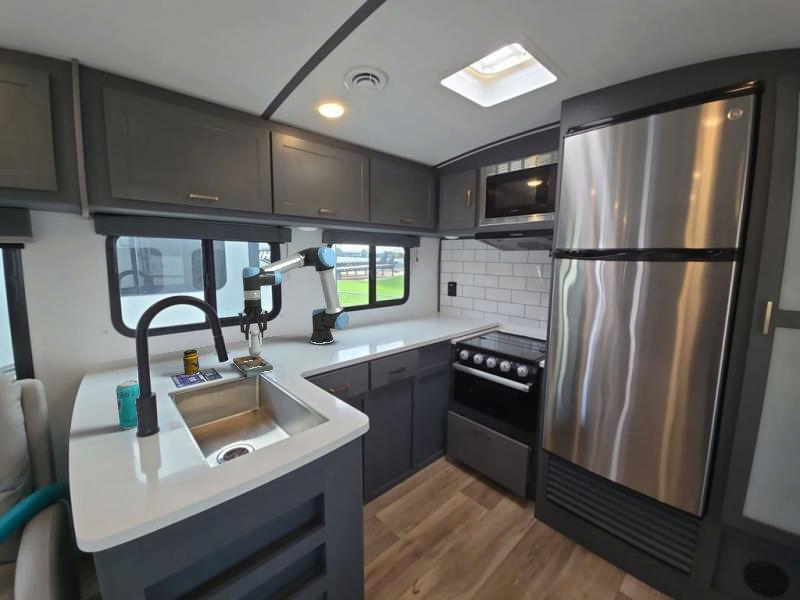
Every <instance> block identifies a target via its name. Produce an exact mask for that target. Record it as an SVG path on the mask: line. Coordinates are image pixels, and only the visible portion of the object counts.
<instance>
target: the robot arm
mask: <svg viewBox="0 0 800 600" xmlns="http://www.w3.org/2000/svg"><path fill="white" fill-rule="evenodd" d="M337 258H338V257H337V254H336V252H335V250H333V249H332V248H331V247H325V246H319V247H318V246H317V247H308V248H305V249H302V250H298V251H297V252H294V253H293V254H292V256H288V257H286V258H282V259H279V260H277V261H274V262H272V263H269V264H266V265H263V266H260V267H258V266H257V267H255V266H251V267H248V266H246V267H243V268H242V275H241V277H242V289H243V299H244V300H243V307H244V308H243V311H241V312H237V315H238V317H239V329H240V333H242V334H244V337H245V338H244V339H245V340H246V341H247V346H248V347H251V335H250V333H249V332H250V330H251V329H250V327H251V323H252V319H254V318H255V320H256V324H257V327H258V330H259V334H258V338H259V342H260V346H262V345H263V342H262V339H264V332H265V331H267V330H268V313H269V311H268V310H266V309H263V308H262V300H261V297H262V296H261V287H267V286H268V287H269V286H279V285H280V284H282V280H283V279H282V278H283V277H282V275H283V274H285V273H287V272H290V271H292V270H294V269H297V268H299V269H302V268H305V267H314V269H315V272H317V273H318V275H319V278H320V279H319V280H320V284H321V288H322V292H323V297H324V300H325V305H326V307H324V308H322V307H321V308H316V309H313V310H312V313H311V314H312V315H311V316H312V317H311V318H312V322H311V323H312V333H311V337H310V342H311V341H312V342H316V343H323V342H330V341H332V340H333V341H334V337H333V334H332V331H331V330H336V331H339V330H340V331H341V330H345V329H346V328H347V327H348V325H349V322H350V315H349V314H348V313H347V312H346V311H345V310H344V306H341V302H340V298H339V294H338V289H337V288H338V287H337V284H336V279H335V274H334V269H335V265H336V263H337V260H338V259H337ZM261 314H262V321H261V317H260V315H261ZM245 316H247V317H246V323H245V320H244V319H245V318H244V317H245Z"/></svg>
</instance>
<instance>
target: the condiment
mask: <svg viewBox="0 0 800 600" xmlns="http://www.w3.org/2000/svg"><path fill="white" fill-rule="evenodd" d="M197 352H198V351H197V350H196V349H187V350H185V351H183V357H182V360H183V361H182V362H183V372H184V373H183V374H185V375H192V374H196V373H198V372H200V364H199V363H200V362H199V355H198V353H197Z"/></svg>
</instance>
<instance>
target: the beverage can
mask: <svg viewBox="0 0 800 600" xmlns="http://www.w3.org/2000/svg"><path fill="white" fill-rule="evenodd" d="M139 391H140V385H139V383H138V381H137V380H126V381H122V382H120V383H117V385H116V390H115V392H116V393H115V394H116V400H117V402H116V403H117V409H118V419H119V424H120V427H121V428H122V429H123V430H132V429H135V428H138V427H137V414H136V407H135V398H136V397H137V396H138V395H139Z"/></svg>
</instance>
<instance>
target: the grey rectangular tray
mask: <svg viewBox="0 0 800 600" xmlns="http://www.w3.org/2000/svg"><path fill="white" fill-rule="evenodd" d="M232 360H233V361H232V362H234V363H235V364H236V365H237V366H238V367H239V368H240V369H241V370H242V371H243V372H244V373H245V374H246V376H245V377H246V378H250V377H251V378H252V377H256V376H259V373H260V372H264V371H270V370H273V371H274V366H273V365H272V364H271V363H269V362H268V361H266V359H264V358H263V357H261V355H259V356H255V357H253V356H251V355H250V354H249V355H245V356H239V357H234V358H232ZM249 360H253V361H249ZM244 361H248V362H244ZM234 363H233V364H234ZM257 366H262V367H257ZM252 367H257V368H253V369H249V368H252Z"/></svg>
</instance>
